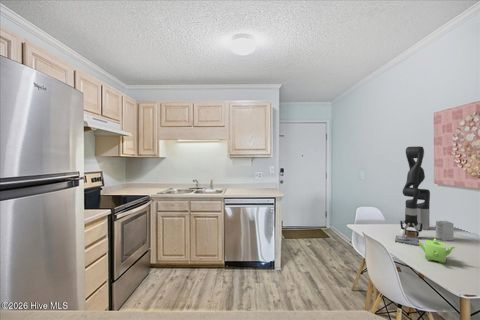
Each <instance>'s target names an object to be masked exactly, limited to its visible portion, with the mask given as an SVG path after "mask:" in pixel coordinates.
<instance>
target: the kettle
mask: <svg viewBox="0 0 480 320" xmlns="http://www.w3.org/2000/svg"><path fill="white" fill-rule="evenodd" d="M418 246H419V247H420V248H421V249H422V251H423V252H424V254H425V255H424V256H425V259H426V260H427V261H430V262H431V261H437V262H438V263H440V264H444V263H447V261H446V259H447V256H449V255H450V254H451V253H452V251H453V249H454V248H456V246H455V245H454V246H453V245H450V246H449V248H448V249H446V243H445V242H443V241H438V240H437V238H433V240H431V239H425V245H424V244H423V243H421V242H418Z"/></svg>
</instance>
